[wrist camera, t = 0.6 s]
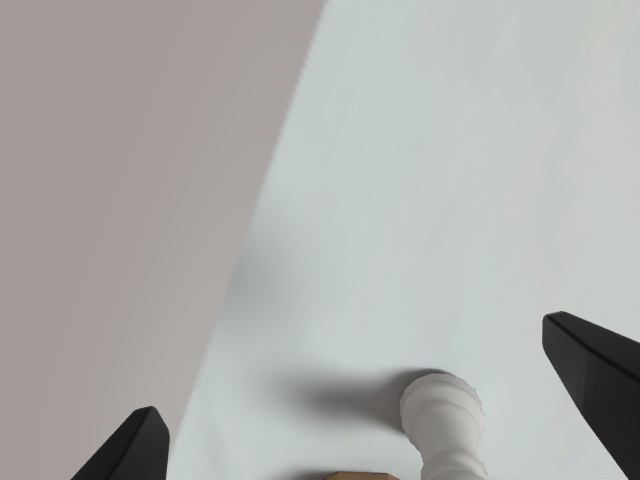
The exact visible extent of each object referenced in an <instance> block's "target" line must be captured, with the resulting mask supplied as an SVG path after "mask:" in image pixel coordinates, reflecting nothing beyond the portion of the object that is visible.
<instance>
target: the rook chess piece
mask: <svg viewBox="0 0 640 480" xmlns="http://www.w3.org/2000/svg"><path fill="white" fill-rule="evenodd" d="M400 417H401V419H402V427H403V429H404V431H405V433H406V435H407V437H408V439H409V441H410V442H411V443H412V444H413V445H414V446H415V447H416V449H417V450H418V451H420V453H421V456H422V459H423V463H424V465H423V467H422V470H421V480H488V474H487V472H486V470H485V468H484V466H483V464H482V463H481V462H480V461H479V460H478V456H477V446H478V444H479V442H480V439H481V437H482V435H483V433H484V412H483V410H482V403H481V401H480V399H479V397H478V395H477V393H476V390H475V389H473V388H472V387H471V386H470V385H469V384H468V383H467V382H466V381H464V380H463V379H461V378H458V377H455V376H453V375H450V374H439V373H431V374H428V375H425V376H422V377H420V378H417V379H415V380H414V381H413V382H412V383H411V384H410V385H409V386H408V387H407V388H405V390H404V393H403V395H402V397H401V400H400Z"/></svg>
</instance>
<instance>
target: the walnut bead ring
mask: <svg viewBox="0 0 640 480" xmlns="http://www.w3.org/2000/svg"><path fill="white" fill-rule="evenodd" d="M324 480H399V479H397V478H395V477H393V476H391V475H389V474H380V473H354V472H338V473H336V474H334V475H332V476H330V477H328V478H326V479H324Z"/></svg>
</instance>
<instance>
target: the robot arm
mask: <svg viewBox="0 0 640 480" xmlns="http://www.w3.org/2000/svg"><path fill="white" fill-rule="evenodd" d="M542 345H543V349H544V351H545V353H546V355H547V357H548V359H549V360H550V362H551V364H552V366H553V367H554V369H555V371H556V372H557V374H558V376H559V378H560V379H561V381H562V383H563V384H564V386H565V388H566V390H567V391H568V393H569V395H570V396H571V398H572V400H573V401H574V403H575V405H576V407H577V408H578V410H579V411H580V413H581V415H582V416H583V418H584V419H585V420H586V422H587V423H588V425H589V426H590V427H591V429H592V430H593V432H594V433H595V434H596V436H597V437H598V438H599V440H600V441H601V442H602V444H603V445H604V447H605V448H606V449H607V451H608V452H609V453H610V455H611V456H612V457H613V459H614V460H615V462H616V463H617V464H618V466H619V467H620V468H621V470H622V471H623V472H624V474H625V475H626V477H627V478H628V479H629V480H640V343H639V342H637V341H634V340H632V339H630V338H627V337H625V336H622V335H620V334H618V333H615V332H613V331H610V330H608V329H606V328H603V327H601V326H598V325H596V324H594V323H591V322H589V321H586V320H584V319H582V318H579V317H577V316H574V315H572V314H570V313H567V312H564V311H559V312H555V313H550V314H547V315H545V316H544V317H543V325H542ZM169 441H170V434H169V430H168V428H167V426H166V424H165V423H164V421H163V419H162V417H161V416H160V414H159V412H158V410H157V409H156V408H155V407H153V406H149V407H144V408H140V409H137V410H135V411H134V412H133V413H132V414H131V415H130V416H129V417H128V418H127V419H126V420H125V421H124V422H123V423H122V424H121V425H120V427H119V428H118V429H117V430H116V431H115V432H114V433H113V434H112V435H111V436H110V437H109V438H108V440H107V441H106V442H105V443H104V444H103V445H102V446H101V447H100V448H99V449H98V450H97V452H96V453H95V454H94V455H93V456H92V457H91V458H90V459H89V460H88V461H87V462H86V464H85V465H84V466H83V467H82V468H81V469H80V470H79V471H78V472H77V473H76V474H75V476H74V477H73V478H72V479H71V480H166V473H167V463H168V453H169V443H170V442H169Z"/></svg>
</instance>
